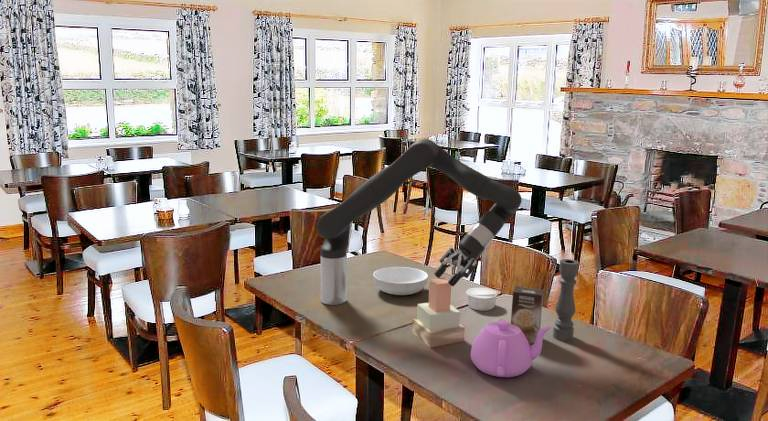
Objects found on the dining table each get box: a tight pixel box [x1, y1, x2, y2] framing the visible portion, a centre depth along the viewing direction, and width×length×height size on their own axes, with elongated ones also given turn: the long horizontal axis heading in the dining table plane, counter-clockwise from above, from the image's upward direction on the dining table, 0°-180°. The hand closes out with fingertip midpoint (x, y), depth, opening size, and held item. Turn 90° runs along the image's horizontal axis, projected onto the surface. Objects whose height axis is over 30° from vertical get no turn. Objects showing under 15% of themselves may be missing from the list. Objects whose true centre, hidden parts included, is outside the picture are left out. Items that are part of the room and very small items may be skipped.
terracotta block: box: [428, 277, 452, 312], centre depth 194 cm, size 5×5×9 cm
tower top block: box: [416, 302, 461, 331], centre depth 196 cm, size 10×10×5 cm
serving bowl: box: [372, 266, 429, 296], centre depth 237 cm, size 21×21×7 cm
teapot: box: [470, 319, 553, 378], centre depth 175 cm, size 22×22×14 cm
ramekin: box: [465, 287, 498, 312], centre depth 223 cm, size 11×11×5 cm
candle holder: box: [552, 258, 580, 342], centre depth 196 cm, size 6×6×25 cm
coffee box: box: [510, 285, 544, 344], centre depth 195 cm, size 9×6×16 cm
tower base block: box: [411, 317, 465, 348], centre depth 197 cm, size 12×12×5 cm
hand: (443, 280), depth 193 cm, fingers open, 8 cm apart
